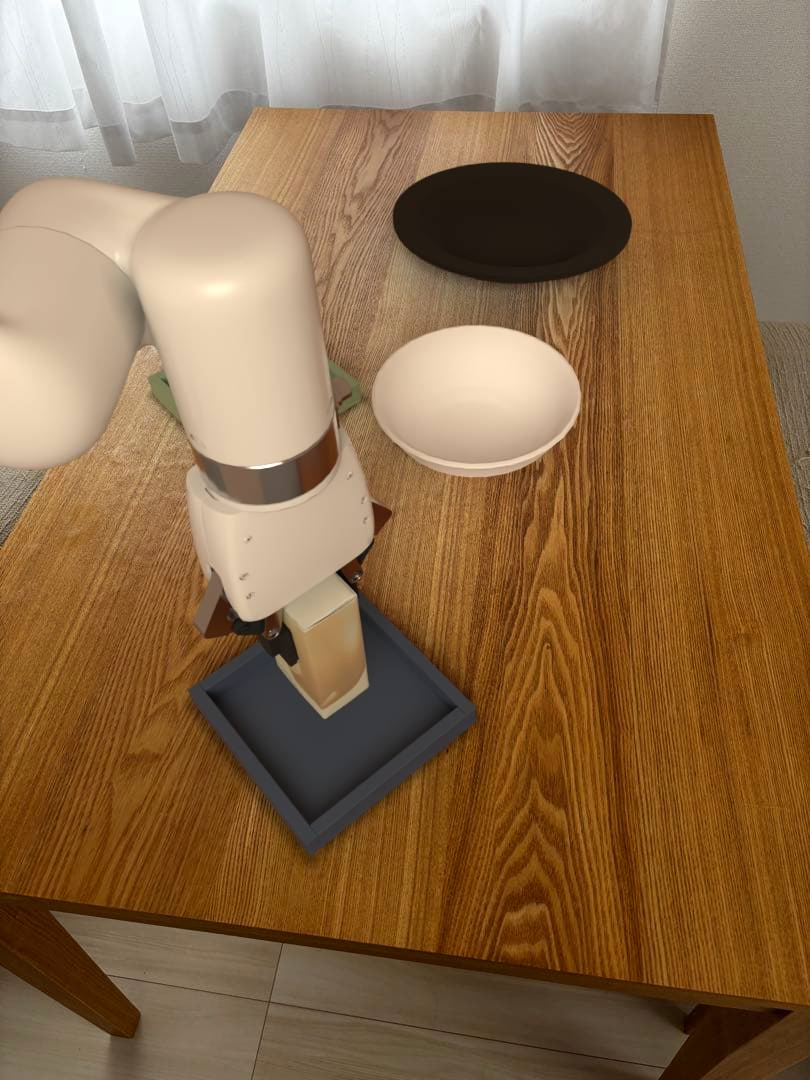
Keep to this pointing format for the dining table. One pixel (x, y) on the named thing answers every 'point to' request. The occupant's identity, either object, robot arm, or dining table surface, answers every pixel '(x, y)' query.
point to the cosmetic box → (326, 645)
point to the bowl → (476, 399)
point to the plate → (512, 222)
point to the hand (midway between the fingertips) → (312, 627)
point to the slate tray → (334, 729)
